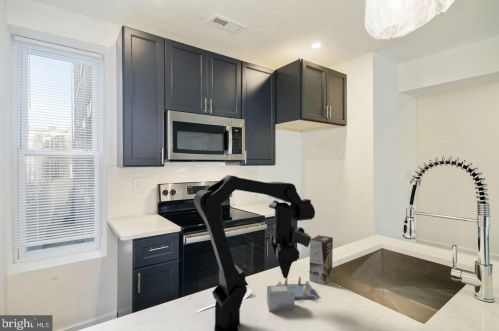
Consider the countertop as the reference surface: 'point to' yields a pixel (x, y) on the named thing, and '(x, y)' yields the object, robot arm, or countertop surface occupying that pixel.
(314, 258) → the coffee box
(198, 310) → the fork
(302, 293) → the tray
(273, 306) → the block
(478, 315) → the countertop surface
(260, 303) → the countertop surface
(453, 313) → the countertop surface
